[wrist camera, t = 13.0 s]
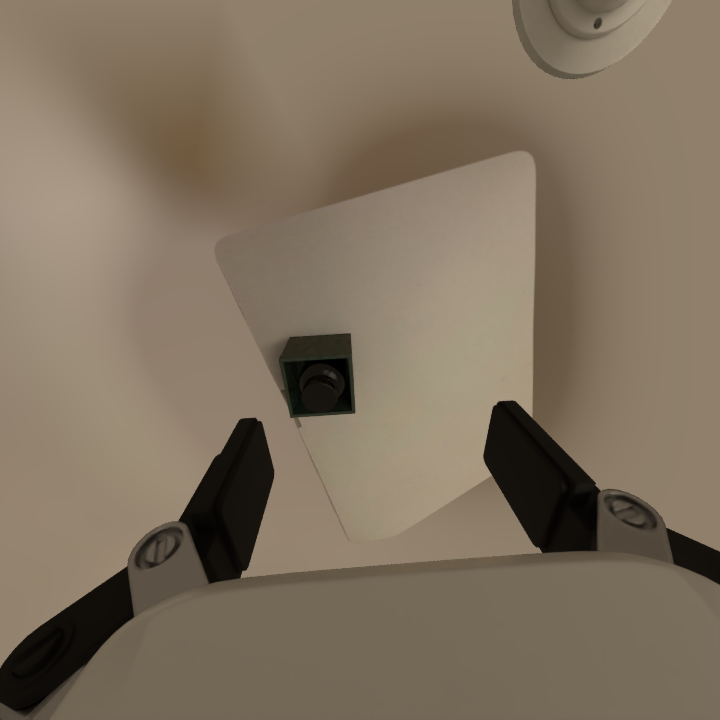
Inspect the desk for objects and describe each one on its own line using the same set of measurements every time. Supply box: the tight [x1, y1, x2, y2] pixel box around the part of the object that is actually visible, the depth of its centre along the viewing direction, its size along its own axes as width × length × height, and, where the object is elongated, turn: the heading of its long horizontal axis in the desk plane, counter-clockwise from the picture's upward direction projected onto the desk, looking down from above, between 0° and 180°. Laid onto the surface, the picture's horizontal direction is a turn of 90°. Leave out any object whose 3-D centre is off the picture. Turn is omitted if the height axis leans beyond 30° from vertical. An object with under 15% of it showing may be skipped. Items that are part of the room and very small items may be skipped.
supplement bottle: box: [298, 358, 346, 413], centre depth 41 cm, size 7×7×12 cm
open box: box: [279, 334, 355, 418], centre depth 44 cm, size 10×10×8 cm
